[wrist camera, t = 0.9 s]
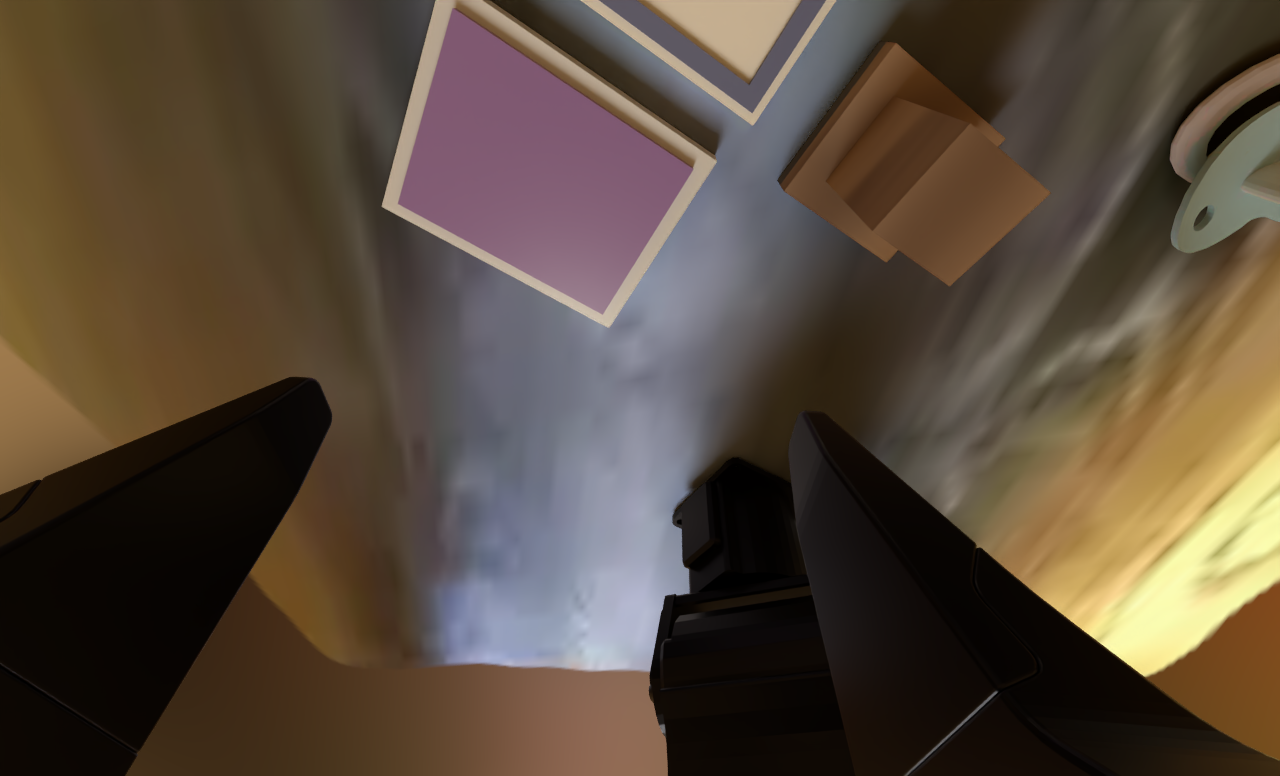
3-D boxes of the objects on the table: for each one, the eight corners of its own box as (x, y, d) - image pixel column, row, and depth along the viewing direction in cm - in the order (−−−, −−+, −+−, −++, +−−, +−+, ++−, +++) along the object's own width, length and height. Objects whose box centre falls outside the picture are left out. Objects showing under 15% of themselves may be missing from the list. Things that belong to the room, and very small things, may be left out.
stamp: (982, 130, 17) (1115, 178, 12) (873, 247, 20) (944, 329, 15) (878, 40, 16) (979, 52, 11) (777, 180, 19) (817, 243, 13)
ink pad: (715, 155, 18) (717, 163, 17) (611, 318, 22) (608, 331, 21) (453, -25, 15) (439, -28, 14) (392, 199, 20) (377, 209, 19)
